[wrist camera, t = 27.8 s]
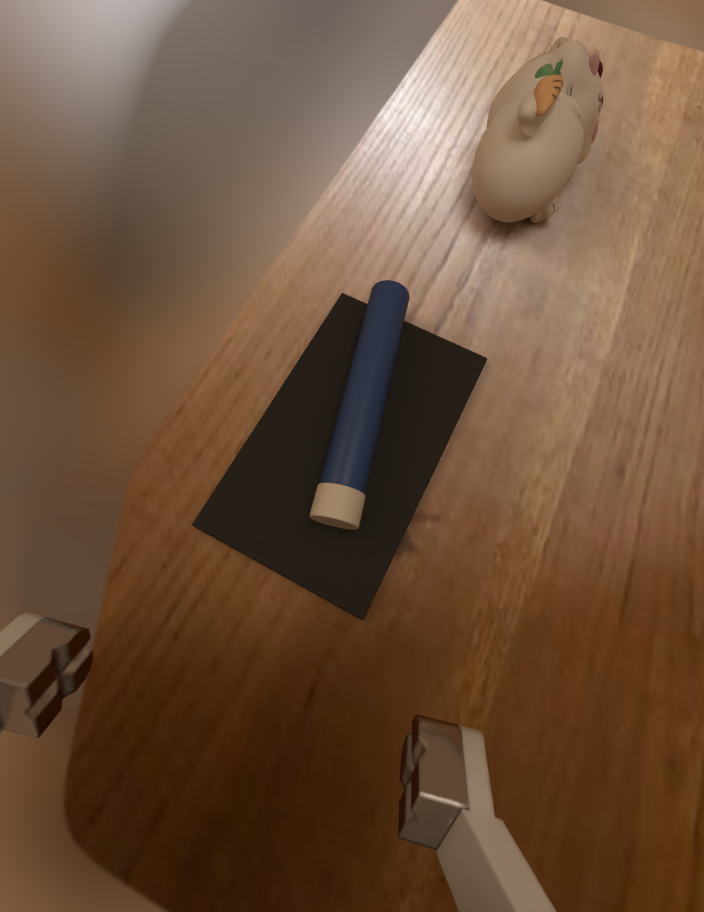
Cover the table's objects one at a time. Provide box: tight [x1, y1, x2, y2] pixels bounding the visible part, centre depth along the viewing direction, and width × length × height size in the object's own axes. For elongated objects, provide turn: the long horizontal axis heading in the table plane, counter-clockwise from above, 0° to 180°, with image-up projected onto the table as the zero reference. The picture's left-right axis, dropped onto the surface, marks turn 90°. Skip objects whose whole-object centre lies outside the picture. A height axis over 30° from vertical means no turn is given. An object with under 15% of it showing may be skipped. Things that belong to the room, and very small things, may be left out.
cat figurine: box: [472, 37, 603, 223], centre depth 32 cm, size 10×8×15 cm
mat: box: [192, 293, 487, 620], centre depth 28 cm, size 20×12×1 cm, turn 152°
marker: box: [310, 280, 409, 530], centre depth 27 cm, size 3×3×17 cm
